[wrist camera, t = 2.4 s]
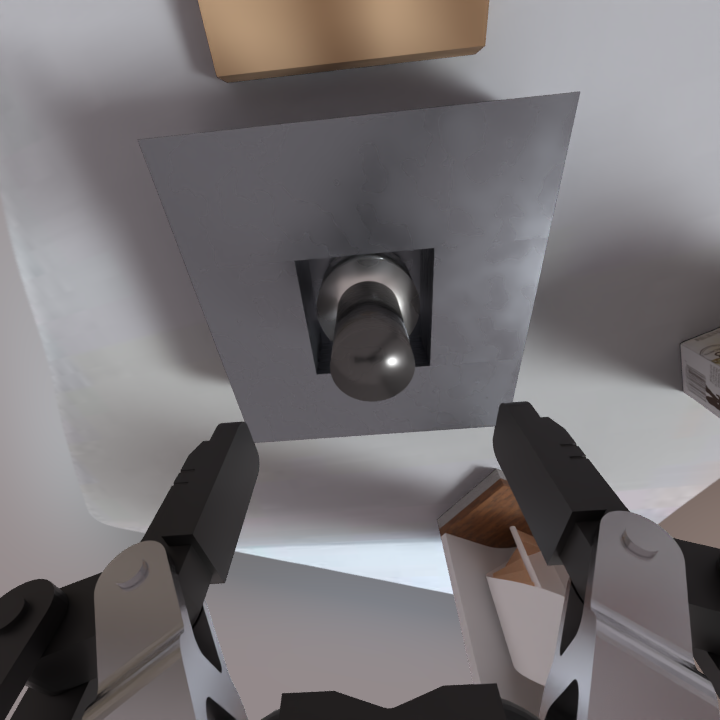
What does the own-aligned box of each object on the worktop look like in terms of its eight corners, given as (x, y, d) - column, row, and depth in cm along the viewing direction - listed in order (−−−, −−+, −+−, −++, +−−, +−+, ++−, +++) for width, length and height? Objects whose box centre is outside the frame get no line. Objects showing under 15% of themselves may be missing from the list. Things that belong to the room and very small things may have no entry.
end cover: (412, 241, 19) (448, 295, 12) (412, 329, 23) (440, 416, 15) (314, 250, 20) (288, 309, 12) (328, 336, 23) (314, 425, 15)
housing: (516, 110, 18) (580, 91, 13) (479, 375, 27) (507, 425, 22) (198, 144, 18) (137, 139, 13) (271, 391, 28) (252, 443, 23)
